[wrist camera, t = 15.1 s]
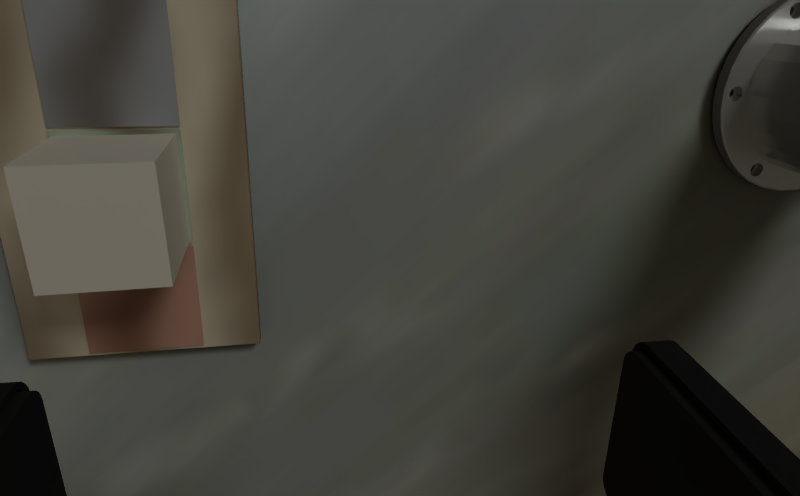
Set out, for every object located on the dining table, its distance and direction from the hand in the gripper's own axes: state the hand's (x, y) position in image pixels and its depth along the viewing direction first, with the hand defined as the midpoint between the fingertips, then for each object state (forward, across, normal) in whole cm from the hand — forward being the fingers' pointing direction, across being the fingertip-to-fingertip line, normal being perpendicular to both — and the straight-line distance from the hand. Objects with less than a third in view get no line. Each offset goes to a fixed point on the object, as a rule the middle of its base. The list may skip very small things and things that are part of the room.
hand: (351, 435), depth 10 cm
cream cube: (+25, +11, +3) cm, 27 cm away
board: (+26, +11, +3) cm, 28 cm away
